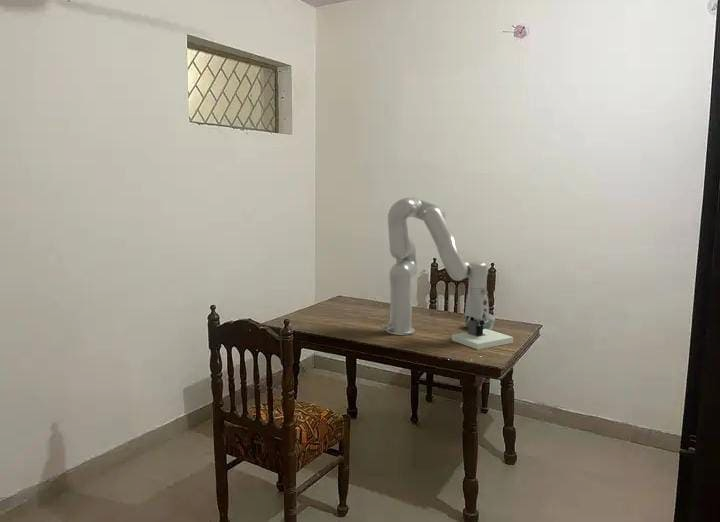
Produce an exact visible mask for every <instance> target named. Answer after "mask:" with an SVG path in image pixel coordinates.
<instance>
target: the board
mask: <svg viewBox="0 0 720 522" xmlns="http://www.w3.org/2000/svg"><path fill="white" fill-rule="evenodd" d="M451 341H453V342H456V343H459V344H460V345H464V346H467V347H470V348H472V349H475V350H483V349H489V348H492V347H493V348H494V347H497V346H498V347H500V346H502V345H509V344H513V343H514V337H513V336H511V335H508V334H505V333H502V332H498V331H495V330H493V329H491V330H488V329H483V334H482V335H481V336H479V337H477V336H474V335H471V334H468V332H459V333H455V334H451Z"/></svg>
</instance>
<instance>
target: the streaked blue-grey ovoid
mask: <svg viewBox="0 0 720 522" xmlns="http://www.w3.org/2000/svg"><path fill="white" fill-rule="evenodd" d="M475 319H476V318H475ZM488 319H489V321H488V322H486V323H485V324H484V326H483V329H488V330H493V328H494V325H495V321H496V318H495V316H494V315H493V314H491V313H489V317H488ZM476 320H477V319H476ZM480 321H481V320H480ZM465 326H466V327H467V328H468V320H467V318H466V317H465Z"/></svg>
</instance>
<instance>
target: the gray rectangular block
mask: <svg viewBox="0 0 720 522" xmlns="http://www.w3.org/2000/svg"><path fill="white" fill-rule="evenodd" d="M480 322H481V321H480ZM477 326H478V323H477V320H476V319H474V320H469V323H468V327H467V330H468V331H467V333H468V334H471V335H474V336H477V337H479V336H481V335H476V331H477Z"/></svg>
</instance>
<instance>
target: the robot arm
mask: <svg viewBox="0 0 720 522" xmlns="http://www.w3.org/2000/svg"><path fill="white" fill-rule="evenodd" d="M408 218H415V219H417V220H420V221H423V222H424V225H425V226H426V228H427V230H428V232H429V234H430V236H431V238H432V239H433V242H434V244H435V246H436V250H437V252H438V255H439V257H440V260H441V263H442V265H443V267H444V268H445V270H446V273H447V274H448V275H449V277H450V279H452V280H454V281H458V282H459V281H462V280H464V279H466V278H468V287H467V288H468V289H467V292H468V293H467V294H466V295H467V296H466V301H465V309H464V313H463V315H464V316H465V319H466V318H467V320H468V323H469V320H474V319H475V318H476V319H477V323H478V326H477V331H476V335H482V334H483V326H484V324H485V323H486V322H488V321H489V319H488V317H489V314H490V313H489V312H490V308H489V307H490V306H489V297H488V295H487V294H488V290H487V285H488V284H487V281H488V265H487V263H485V262H481V261H480V262H478V261H477V262H475V261H474V262H471V261H466V260H461V258H460V256H459V253H458V251H457V247H456V240H455V235H454V234H453V232H452V229H451V228H450V226H449V224H448V222H447V220H446V211H445V210H444V208H442V207H441V206H439V205H436V204H433V203H431V202H429V201H425V200H422V199H419V198H416V197H404V198H401V199H399V200H397V201H396V202H394V203H393V204H392V206H391V207H390V209H389V211H388V214H387V226H388V227H387V229H388V241H389V243H388V244H389V253H390V255H391V256H392V258H393V259H394V258H395V262H396V263H395V264H394V265H392V267H391V268H390V270H389V286H390V287H389V288H390V292H389V293H390V294H389V295H390V302H389V303H390V304H389V305H390V307H389V321H387V323H386V324H382V325H380V329H381V330H385V331H386V332H387V333H388V334H390V335H394V336H395V335H396V336H406V335H407V336H409V335H412V334H414V333H415V328H414V327H412V306H413V305H412V303H413V300H412V299H413V298H412V297H413V296H412V295H413V292H412V291H413V287H412V279H414V278H415V277H416V275H417V272H418V265H417V254H416V253H417V252H416V245H415V242H414V241H413V239H412V238H410V236H409V229H408V227H409V226H408V223H407V220H408ZM480 320H481V322H480Z"/></svg>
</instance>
